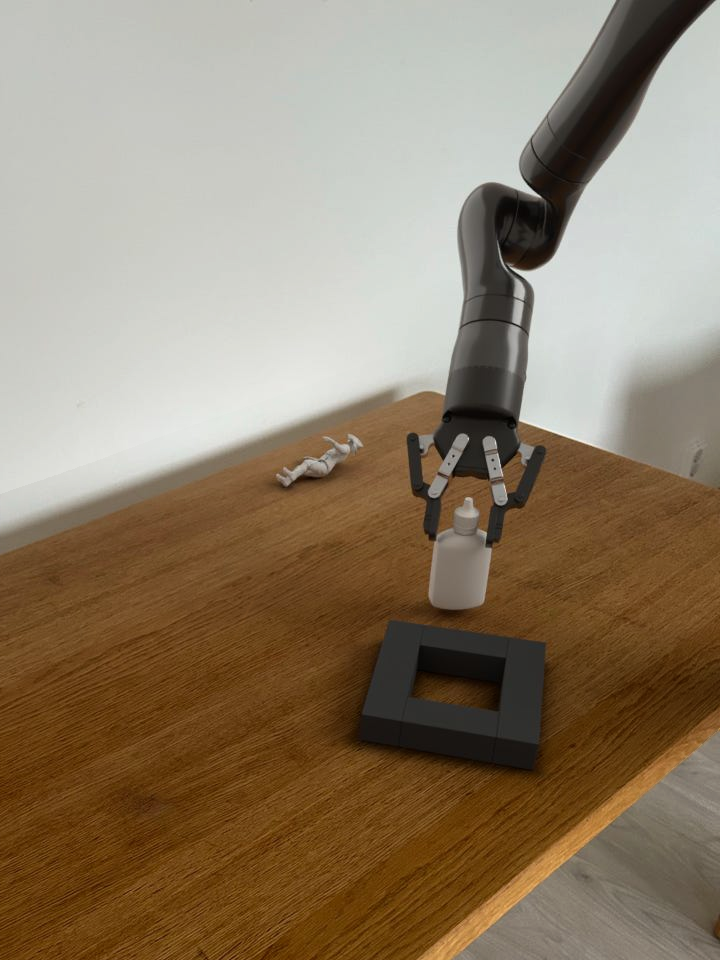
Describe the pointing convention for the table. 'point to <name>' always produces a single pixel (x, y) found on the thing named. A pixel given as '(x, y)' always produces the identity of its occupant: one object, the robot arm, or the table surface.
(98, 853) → the table surface
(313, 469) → the soldier figure
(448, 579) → the eye dropper bottle
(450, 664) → the black rectangular frame
